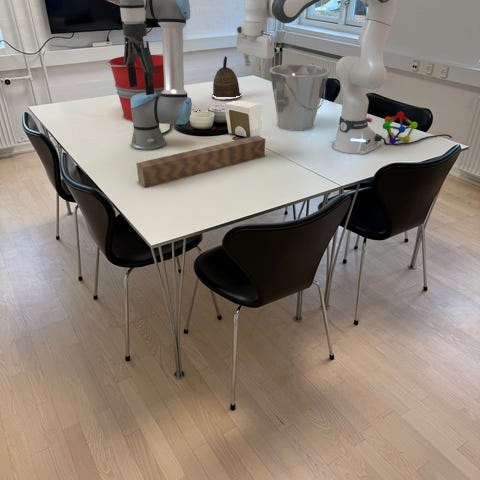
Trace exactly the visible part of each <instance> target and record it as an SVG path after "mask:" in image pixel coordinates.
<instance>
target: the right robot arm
mask: <svg viewBox="0 0 480 480" xmlns="http://www.w3.org/2000/svg"><path fill="white" fill-rule="evenodd" d="M320 1H321V0H243V10H244V17H243V23H242V24H241V25H238V26H236V28H235V32H236V41H235V42H236V45H235V46H236V51H237V53H239V54H242V58H243V61H244V66H245V67H251V60H250V56H251V57H256V58H260V64H258V70H260V71H265V69H266V64H267V62H268V60H272V59H273V58H274V57H275V42H274V36H273V34H272V33H271V32H270V31H268V19H269V18H271V19H273V20H275V21H279V22H280V23H282V24H291V23H293V22H295V21H296V20H297V19H298V18H299V17H300V16H301V14H302V13H303V12H304V11H305V10H307V9H308V8H309V7H312V6H313V5H315V4H316V3H318V2H320ZM397 7H398V0H368V7H367V8H368V9H367V12H366V15H365V18H364V20H363V23H362V26H361V28H360V31H359V34H358V37H357V42H358V44H359V46H360V54H359V56H355V55H347V56H346V55H345V56H343V57H341V58H339V60H338V61H337V62H336V64H335V74H336V77H337V78H338V81H339V83H340V88H341V93H342V102H341V103H342V104H341V114H340V116H339V121H338V127H337V131H336V135H335V139H334V140H333V144H334V145H333V149H335V150H336V151H338V152H341V153H347V154H360V155H365V154H367V153H370V152H372V151H373V150H376V149H378V148H380V147H381V144H380V142H382V140H383V144H384V145H385V146H401V145H410V144H415V143H418V142H420V141H423V140H426V139H430V138H438V137H449V138H450V139H453V137H452V135H451V134H447V133H446V134H445V133H443V134H436V135H429V136H425V137H421V138H419V139H417V140H413V141H409V142H398V143H397V142H396V143H395V144H390V143H388V142H387V141H386V138H384V137H383V136H382V135H381V134H379V133H376V132H375V131H374V130H373V129H372V128H371V127H370V126H369V124H368V123H370V124H372V122H373V118H371V117H367V115H368V110H369V104H370V103H369V98H368V96H367V94H366V91H365V89H366V90H377V89H379V88H380V87H381V86H382V85H383V84H384V83H385V81H386V78H387V68H386V67H385V64H384V49H385V45H386V43H387V39H388V37H389V34H390V30H391V27H392V25H393V22H394V19H395V16H396V11H397Z"/></svg>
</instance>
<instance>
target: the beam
mask: <svg viewBox="0 0 480 480" xmlns="http://www.w3.org/2000/svg"><path fill="white" fill-rule="evenodd" d="M265 154H266V138H264V137H263V136H260V135H253V136H248V137H244V138H239V139H236V140H230V141H227V142H223V143H222V142H221V143H218V144H214V145H210V146H205V147H201V148H196V149H191V150H187V151H184V152H179V153H174V154H170V155H166V156H162V157H161V156H160V157H157V158H152V159H148V160H145V161H140V162H136V164H135V165H136V170H137V179H138V183H139V184H140V185H141V186H142V187H144V188H148V187H152V186H155V185H161V184H163V183H167V182H170V181H171V182H172V181H174V180H175V181H176V180H178V179H182V178H187V177H190V176H194V175H198V174H202V173H205V172H209V171H210V172H211V171H214V170H218V169H220V168H225V167H228V166H233V165H236V164H239V163H240V164H241V163H244V162H247V161H252V160H256V159H259V158H264V157H265Z"/></svg>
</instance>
